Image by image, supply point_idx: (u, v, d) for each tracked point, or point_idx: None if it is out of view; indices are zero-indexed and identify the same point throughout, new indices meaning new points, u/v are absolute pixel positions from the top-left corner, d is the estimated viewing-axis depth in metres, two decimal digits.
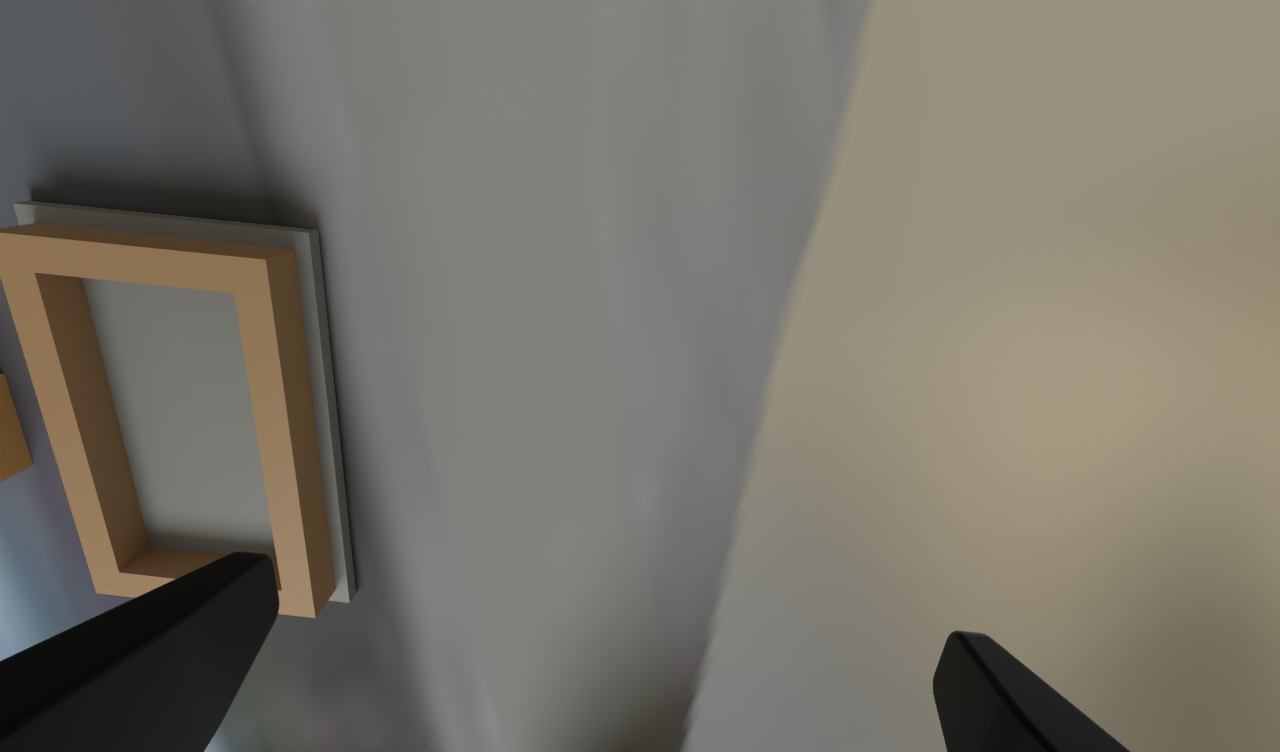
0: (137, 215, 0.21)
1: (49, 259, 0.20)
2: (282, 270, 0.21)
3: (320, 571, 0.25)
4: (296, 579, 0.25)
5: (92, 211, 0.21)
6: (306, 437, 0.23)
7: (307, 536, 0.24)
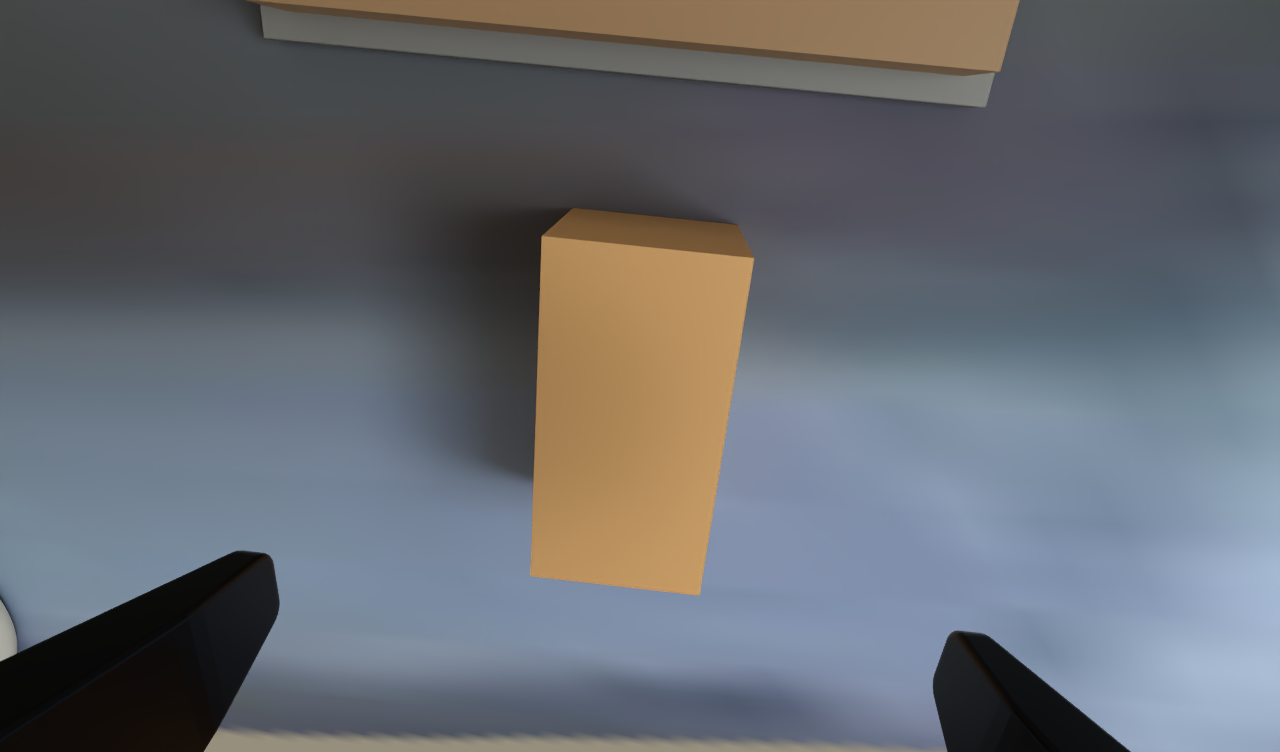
0: None
1: None
2: None
3: None
4: None
5: None
6: None
7: None
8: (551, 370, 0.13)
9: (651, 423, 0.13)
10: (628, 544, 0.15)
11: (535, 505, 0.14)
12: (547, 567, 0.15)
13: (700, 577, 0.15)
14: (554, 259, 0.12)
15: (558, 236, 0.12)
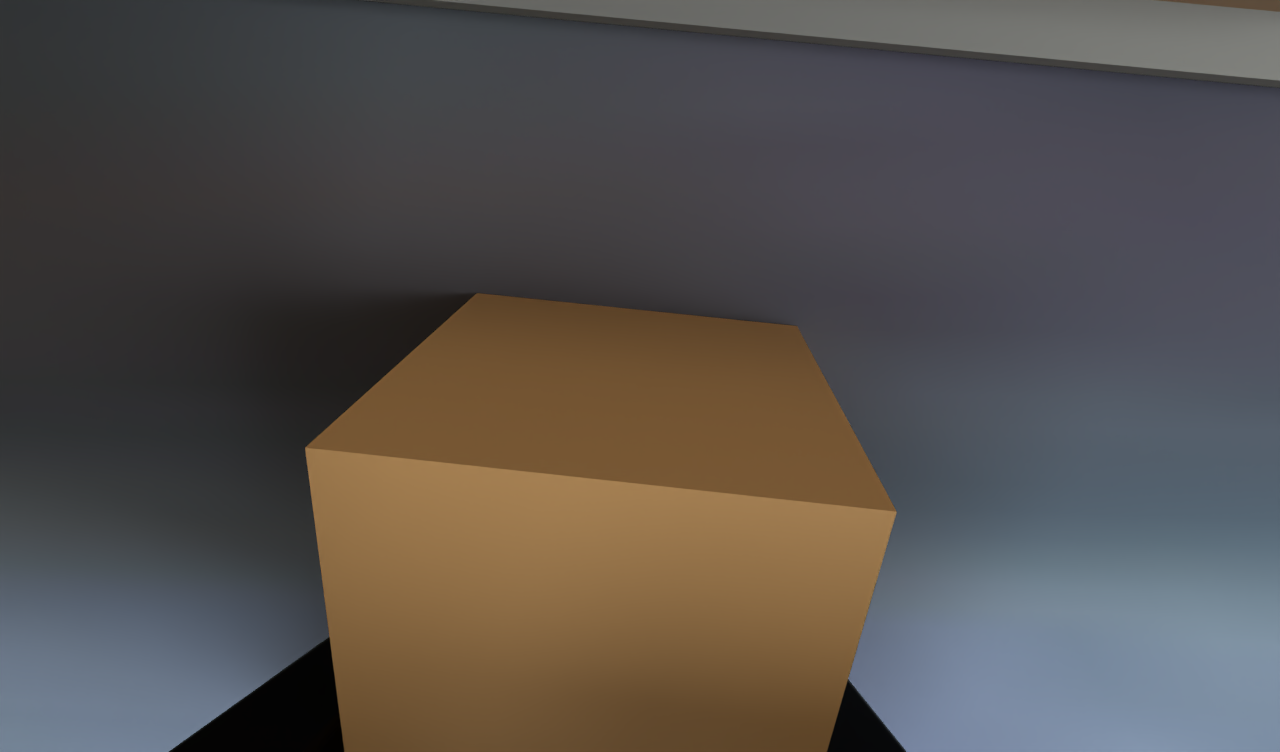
0: None
1: None
2: None
3: None
4: None
5: None
6: None
7: None
8: (376, 733, 0.05)
9: None
10: None
11: None
12: None
13: None
14: (348, 504, 0.04)
15: (356, 444, 0.04)
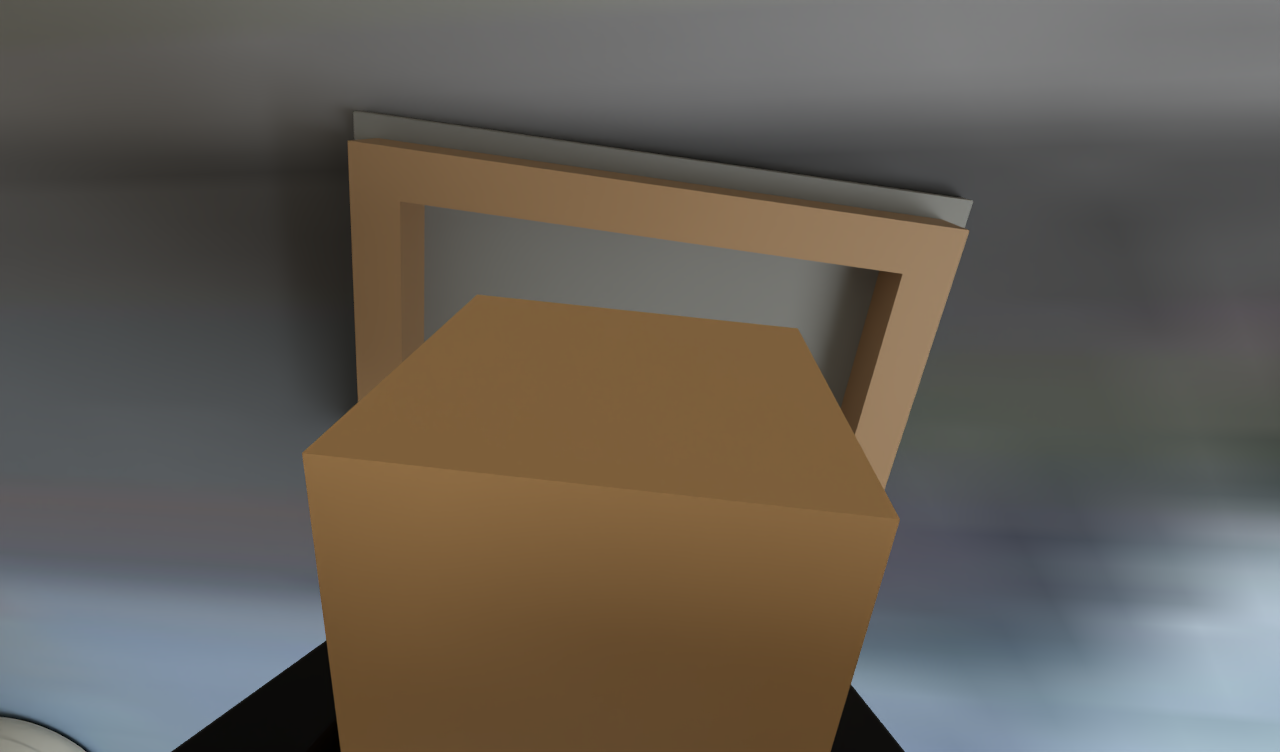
0: None
1: None
2: (384, 142, 0.15)
3: (886, 214, 0.15)
4: (883, 242, 0.15)
5: None
6: (642, 178, 0.16)
7: (804, 205, 0.15)
8: (373, 739, 0.05)
9: None
10: None
11: None
12: None
13: None
14: (345, 510, 0.04)
15: (354, 449, 0.04)
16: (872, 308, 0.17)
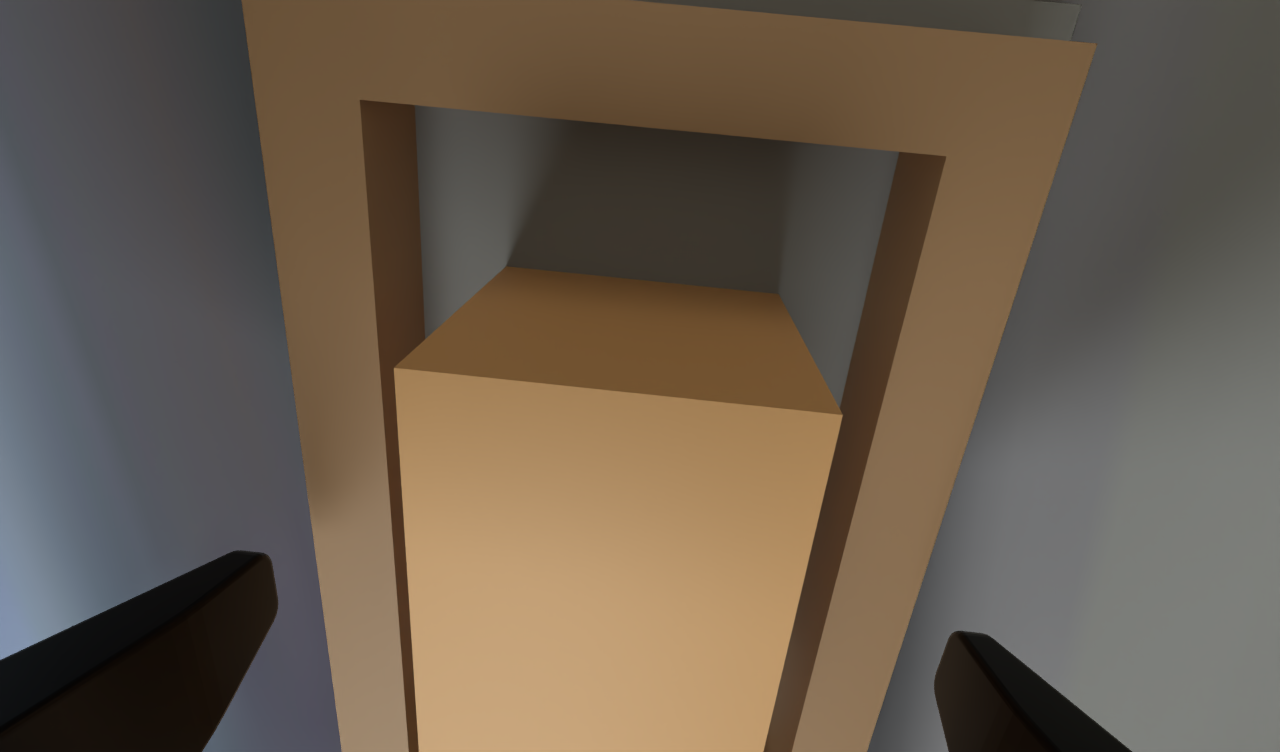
0: None
1: (412, 56, 0.07)
2: None
3: None
4: None
5: None
6: None
7: (860, 747, 0.11)
8: (436, 607, 0.07)
9: (632, 695, 0.07)
10: None
11: None
12: None
13: None
14: (424, 413, 0.06)
15: (431, 366, 0.06)
16: None
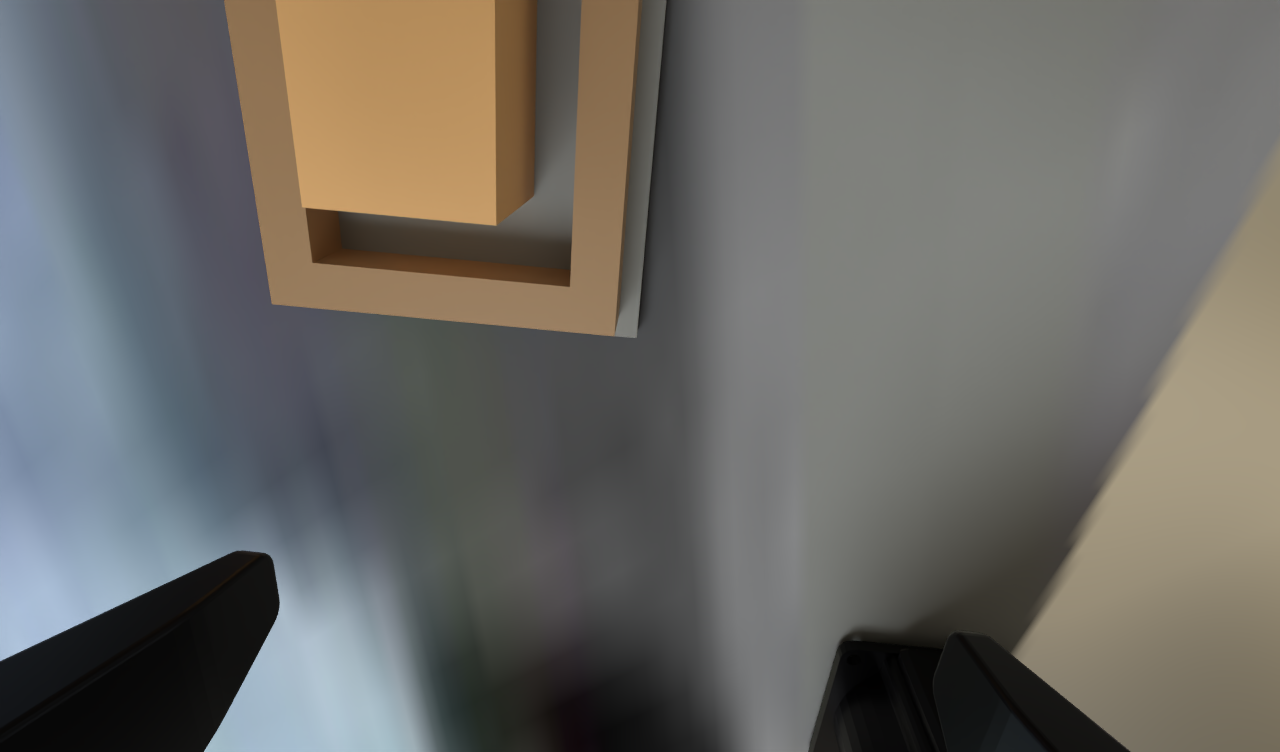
0: None
1: None
2: None
3: (621, 264, 0.17)
4: (597, 264, 0.16)
5: None
6: (640, 1, 0.14)
7: (626, 183, 0.15)
8: None
9: None
10: (406, 155, 0.13)
11: (291, 102, 0.12)
12: (319, 194, 0.13)
13: (493, 198, 0.13)
14: None
15: None
16: (530, 268, 0.17)
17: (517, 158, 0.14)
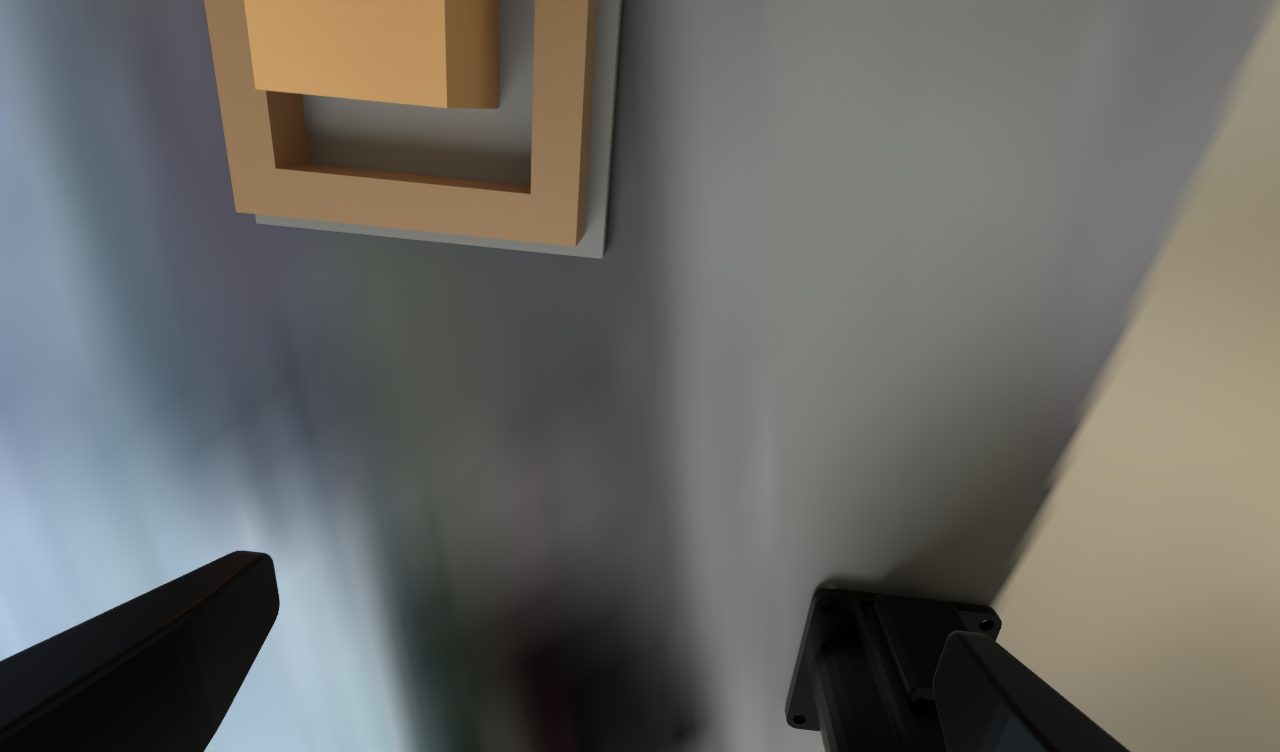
0: None
1: None
2: None
3: (583, 175, 0.17)
4: (557, 169, 0.16)
5: None
6: None
7: (585, 86, 0.15)
8: None
9: None
10: (357, 33, 0.13)
11: None
12: (272, 75, 0.13)
13: (443, 78, 0.13)
14: None
15: None
16: (495, 183, 0.17)
17: (475, 55, 0.15)
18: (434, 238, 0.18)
